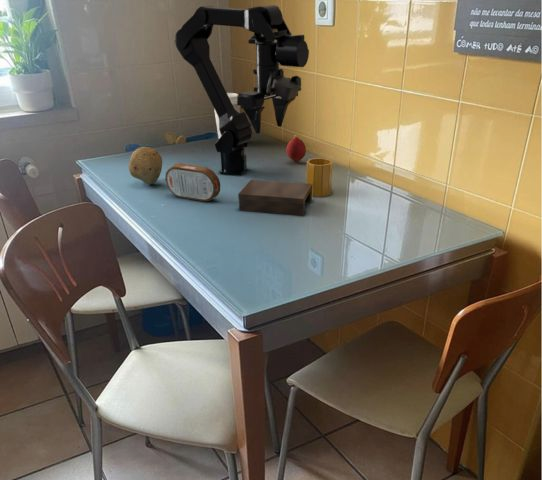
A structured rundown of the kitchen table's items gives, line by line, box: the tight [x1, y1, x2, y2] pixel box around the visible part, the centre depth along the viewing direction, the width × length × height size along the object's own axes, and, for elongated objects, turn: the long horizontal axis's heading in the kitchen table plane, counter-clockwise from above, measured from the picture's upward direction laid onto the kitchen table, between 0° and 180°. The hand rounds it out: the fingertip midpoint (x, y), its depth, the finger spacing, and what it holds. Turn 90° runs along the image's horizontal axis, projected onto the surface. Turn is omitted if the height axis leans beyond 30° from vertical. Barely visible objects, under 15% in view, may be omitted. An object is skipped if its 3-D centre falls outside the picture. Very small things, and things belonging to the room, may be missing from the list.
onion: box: [285, 134, 307, 164], centre depth 162 cm, size 6×6×8 cm
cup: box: [305, 157, 334, 198], centre depth 140 cm, size 6×7×8 cm
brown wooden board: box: [237, 179, 313, 216], centre depth 134 cm, size 16×11×4 cm
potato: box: [128, 146, 163, 185], centre depth 147 cm, size 9×9×10 cm
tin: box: [165, 162, 221, 202], centre depth 137 cm, size 15×3×8 cm, turn 65°
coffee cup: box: [213, 92, 241, 140], centre depth 179 cm, size 10×10×15 cm
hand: (268, 129), depth 145 cm, fingers open, 9 cm apart
